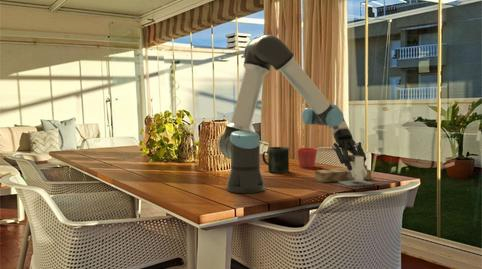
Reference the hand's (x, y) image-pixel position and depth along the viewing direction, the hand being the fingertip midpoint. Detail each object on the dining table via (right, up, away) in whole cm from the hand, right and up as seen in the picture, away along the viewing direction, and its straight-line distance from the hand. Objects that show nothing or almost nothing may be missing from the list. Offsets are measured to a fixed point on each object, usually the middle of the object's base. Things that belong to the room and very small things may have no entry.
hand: (360, 175), depth 171 cm
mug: (-32, -2, +38) cm, 50 cm away
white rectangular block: (-1, -2, +4) cm, 4 cm away
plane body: (-4, -3, +15) cm, 15 cm away
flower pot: (-14, 0, +52) cm, 53 cm away
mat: (-1, -4, +4) cm, 6 cm away
